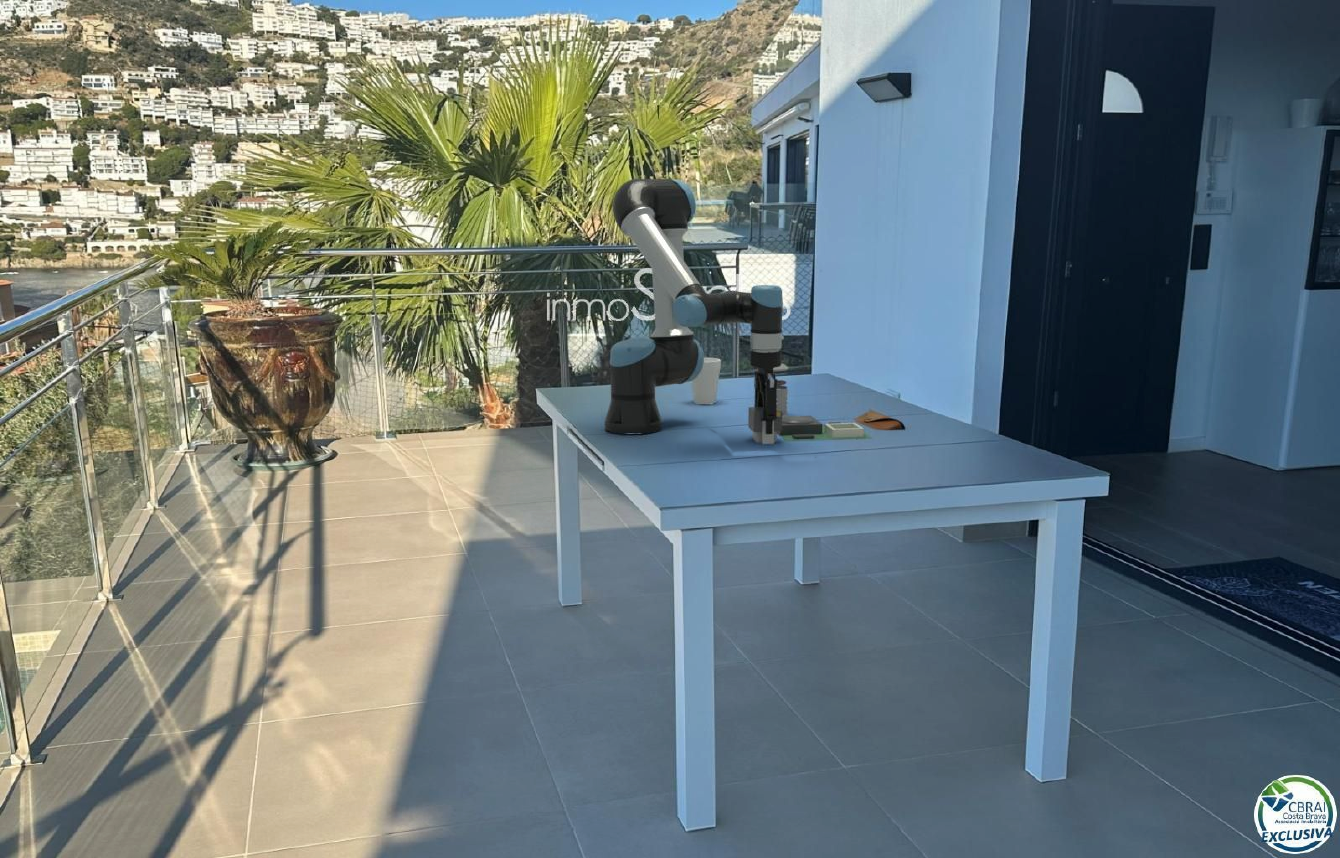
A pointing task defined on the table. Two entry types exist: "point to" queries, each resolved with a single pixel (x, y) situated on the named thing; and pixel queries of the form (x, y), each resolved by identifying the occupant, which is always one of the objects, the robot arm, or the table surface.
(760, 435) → the plug
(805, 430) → the fan
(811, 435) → the board
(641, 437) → the table surface
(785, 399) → the french press
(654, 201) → the robot arm
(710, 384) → the foam cup
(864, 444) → the table surface
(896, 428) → the sunglasses case
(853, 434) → the frame
